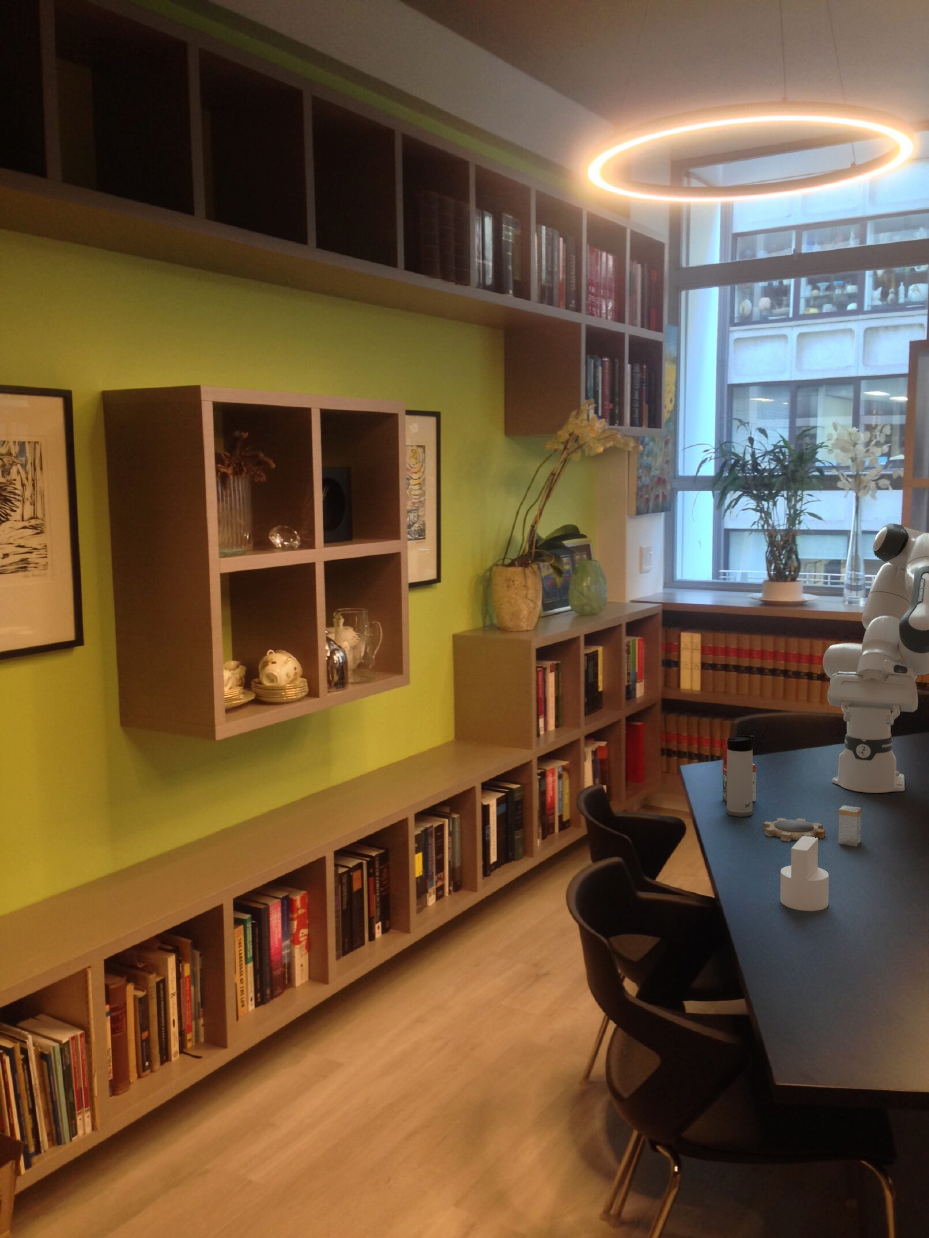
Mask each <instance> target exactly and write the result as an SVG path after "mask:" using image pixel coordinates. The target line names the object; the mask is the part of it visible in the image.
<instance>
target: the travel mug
mask: <svg viewBox="0 0 929 1238" xmlns="http://www.w3.org/2000/svg"><path fill="white" fill-rule="evenodd" d="M753 740H755V736H754V735H749V734H746V735H745V734H744V735H743V734H742V735H741V734H740V735H733V736H730V737H728V739H727V743H726V744H727V745H726V746H727V802H726V813H727V814H728V815H729V816H733V817H736V816H737V817H738V818H740V817H741V818H745V817H750V816H752V815H753V802H754V801H753V764H754V763H753V762H754V760H753V756H754V755H753V754H754V753H753V751H754V749H753V745H754V744H753ZM737 817H736V818H737Z"/></svg>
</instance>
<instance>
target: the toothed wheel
mask: <svg viewBox="0 0 929 1238" xmlns="http://www.w3.org/2000/svg"><path fill="white" fill-rule="evenodd" d="M762 825H763V828H762V829H763V830H764V835H766V836H767V837H776V838H780V841H784V842H788V843H789V842H791V841H798V840H799V839H800V838H801V837H802V836H809V837H816V838H818V839H824V838H825V837H826V829H824V824H821V823H820V822H810V821H807V819H806V818H800V817H799V818H796V819H786V818H784V817H776V818H775V821H766V820H765V822H763V823H762ZM824 836H825V837H824Z"/></svg>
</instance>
